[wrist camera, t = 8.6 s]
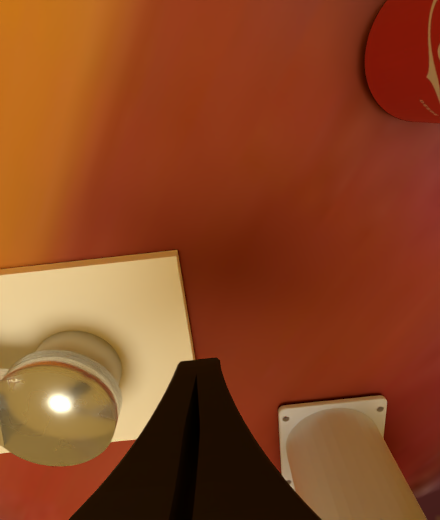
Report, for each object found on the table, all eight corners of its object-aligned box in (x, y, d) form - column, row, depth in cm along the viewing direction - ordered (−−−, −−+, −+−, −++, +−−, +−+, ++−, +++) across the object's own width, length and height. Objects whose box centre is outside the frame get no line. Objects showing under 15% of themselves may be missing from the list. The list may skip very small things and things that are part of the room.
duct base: (205, 420, 27) (205, 460, 24) (-17, 444, 27) (-45, 486, 24) (177, 249, 21) (172, 272, 18) (-101, 280, 21) (-152, 308, 18)
